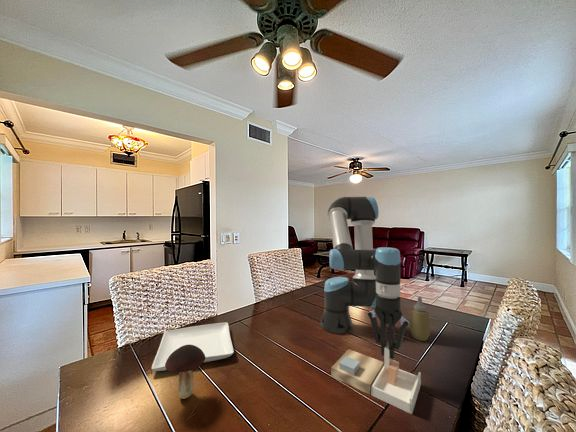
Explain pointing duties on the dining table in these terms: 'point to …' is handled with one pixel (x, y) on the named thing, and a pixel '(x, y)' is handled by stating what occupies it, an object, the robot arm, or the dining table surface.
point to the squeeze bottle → (420, 321)
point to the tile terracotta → (393, 372)
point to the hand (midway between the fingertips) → (387, 366)
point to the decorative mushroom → (185, 367)
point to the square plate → (196, 342)
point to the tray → (397, 389)
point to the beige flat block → (363, 375)
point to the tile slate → (349, 365)
